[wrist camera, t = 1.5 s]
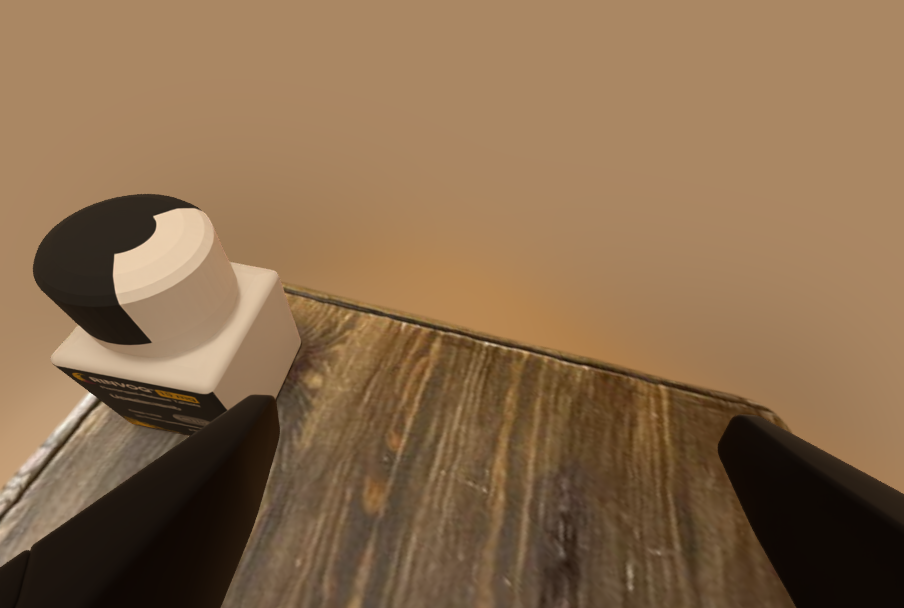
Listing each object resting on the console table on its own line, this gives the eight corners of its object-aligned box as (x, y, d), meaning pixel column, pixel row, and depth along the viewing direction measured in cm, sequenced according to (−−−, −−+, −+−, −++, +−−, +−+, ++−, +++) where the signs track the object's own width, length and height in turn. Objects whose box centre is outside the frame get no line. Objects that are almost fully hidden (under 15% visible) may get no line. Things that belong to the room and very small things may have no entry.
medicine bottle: (128, 424, 23) (-61, 283, 13) (198, 321, 27) (92, 161, 18) (255, 449, 23) (153, 324, 13) (303, 342, 27) (254, 191, 18)
